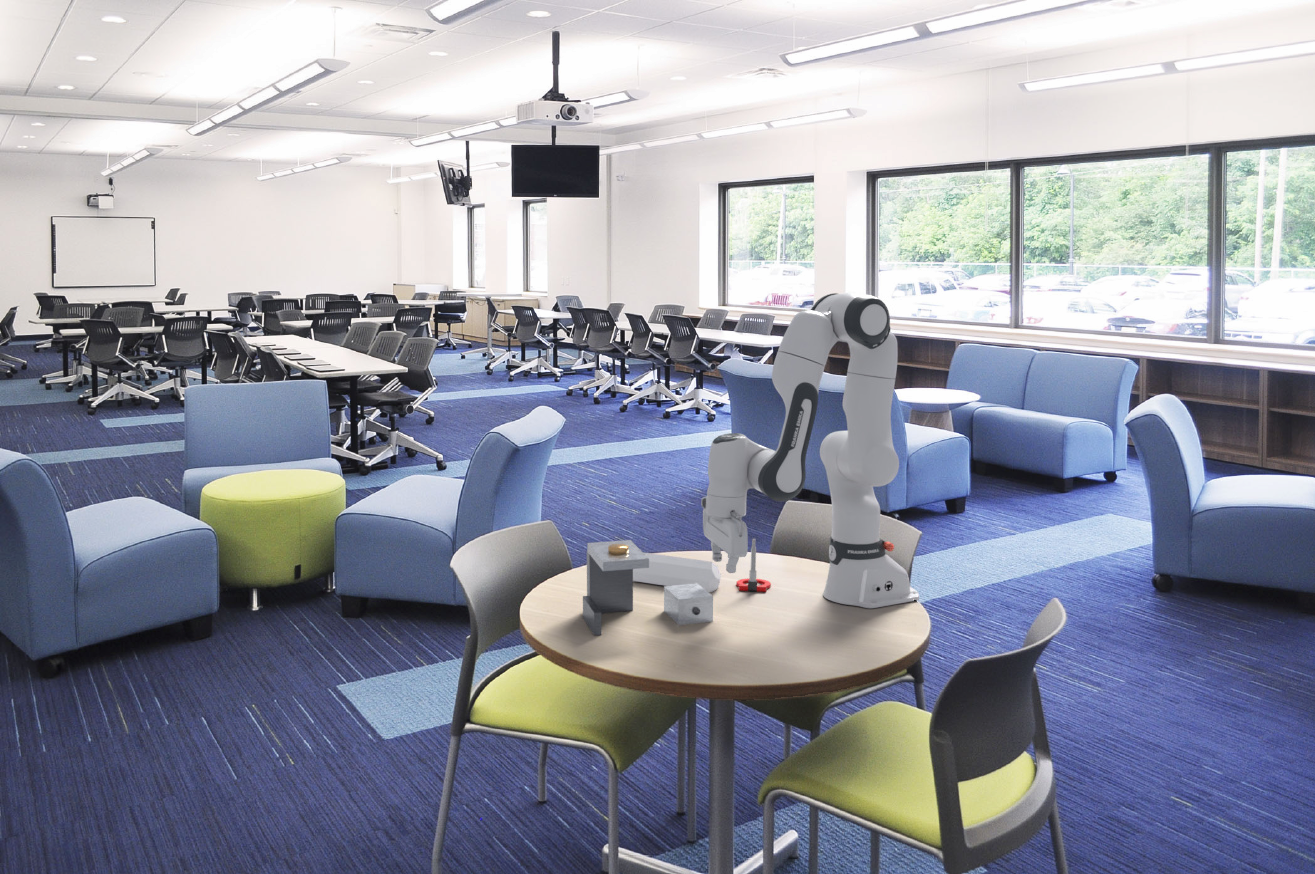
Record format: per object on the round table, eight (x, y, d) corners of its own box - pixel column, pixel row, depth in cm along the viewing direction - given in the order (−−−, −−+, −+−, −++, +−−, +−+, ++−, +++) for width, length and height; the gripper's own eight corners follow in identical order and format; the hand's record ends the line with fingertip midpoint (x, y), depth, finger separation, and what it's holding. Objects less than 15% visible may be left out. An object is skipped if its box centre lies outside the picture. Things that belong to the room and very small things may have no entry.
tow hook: (737, 582, 265) (734, 591, 256) (739, 531, 263) (736, 539, 254) (771, 583, 263) (769, 593, 254) (773, 532, 262) (771, 540, 253)
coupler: (629, 606, 244) (629, 533, 241) (648, 630, 228) (649, 553, 225) (578, 610, 241) (577, 537, 238) (594, 635, 225) (593, 557, 222)
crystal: (621, 569, 261) (711, 581, 251) (633, 549, 266) (721, 560, 256) (628, 590, 265) (716, 603, 255) (640, 570, 270) (727, 582, 260)
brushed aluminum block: (696, 608, 243) (697, 583, 243) (713, 622, 234) (713, 596, 233) (664, 611, 241) (664, 586, 240) (679, 626, 231) (679, 600, 230)
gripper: (756, 516, 227) (753, 578, 229) (724, 496, 246) (722, 554, 248) (728, 517, 225) (725, 580, 227) (699, 497, 244) (696, 555, 247)
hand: (723, 566), depth 238 cm, fingers open, 8 cm apart
